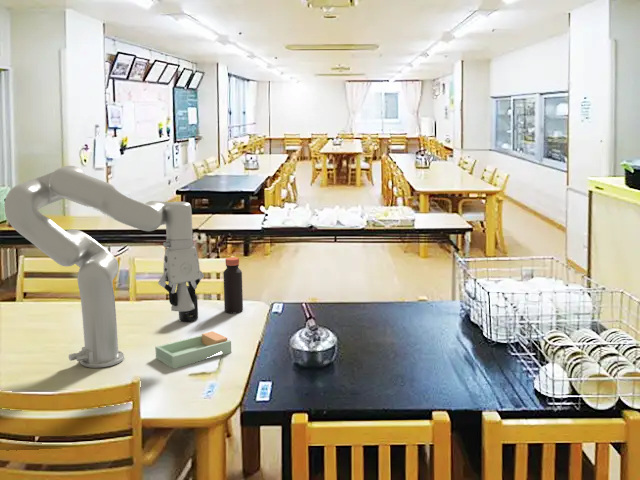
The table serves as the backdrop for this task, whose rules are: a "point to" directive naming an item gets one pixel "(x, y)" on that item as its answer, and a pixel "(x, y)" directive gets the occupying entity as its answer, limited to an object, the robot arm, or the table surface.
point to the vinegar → (233, 286)
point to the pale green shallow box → (189, 351)
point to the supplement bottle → (190, 313)
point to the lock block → (212, 338)
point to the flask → (183, 299)
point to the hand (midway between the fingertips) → (182, 302)
